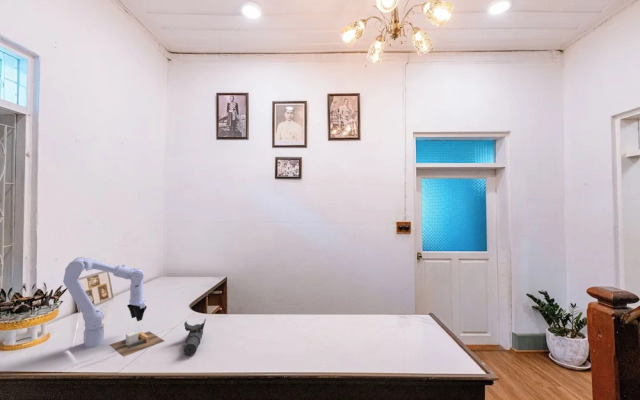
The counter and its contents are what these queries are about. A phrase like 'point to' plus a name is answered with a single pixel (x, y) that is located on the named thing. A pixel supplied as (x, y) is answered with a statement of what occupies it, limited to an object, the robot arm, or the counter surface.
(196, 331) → the laser sight
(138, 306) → the robot arm
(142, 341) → the base board
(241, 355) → the counter surface
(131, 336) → the white block
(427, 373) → the counter surface
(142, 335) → the bar
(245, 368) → the counter surface
